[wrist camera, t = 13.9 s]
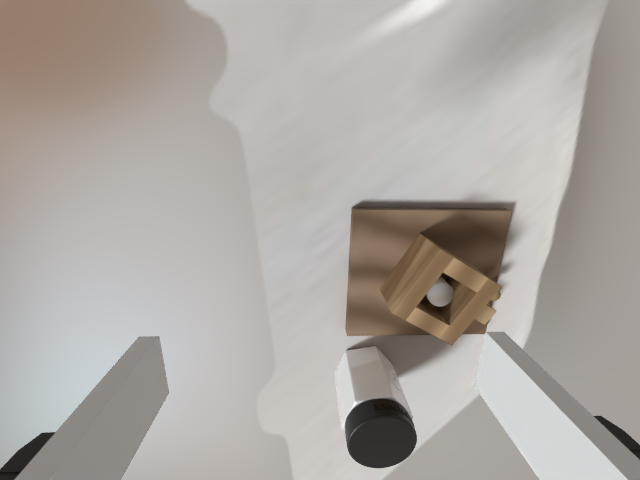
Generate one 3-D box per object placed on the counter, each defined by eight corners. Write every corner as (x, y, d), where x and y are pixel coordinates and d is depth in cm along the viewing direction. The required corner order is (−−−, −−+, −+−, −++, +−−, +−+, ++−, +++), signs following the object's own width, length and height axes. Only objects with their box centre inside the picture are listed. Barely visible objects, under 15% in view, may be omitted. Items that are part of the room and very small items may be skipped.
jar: (401, 372, 46) (433, 447, 34) (359, 399, 47) (376, 480, 36) (367, 334, 43) (389, 402, 32) (324, 364, 45) (330, 439, 33)
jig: (351, 207, 37) (361, 219, 31) (504, 208, 38) (542, 220, 32) (345, 329, 43) (352, 360, 37) (479, 327, 44) (507, 357, 38)
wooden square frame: (379, 288, 39) (391, 313, 34) (419, 233, 37) (439, 248, 32) (461, 334, 42) (486, 363, 37) (503, 284, 40) (536, 307, 34)
